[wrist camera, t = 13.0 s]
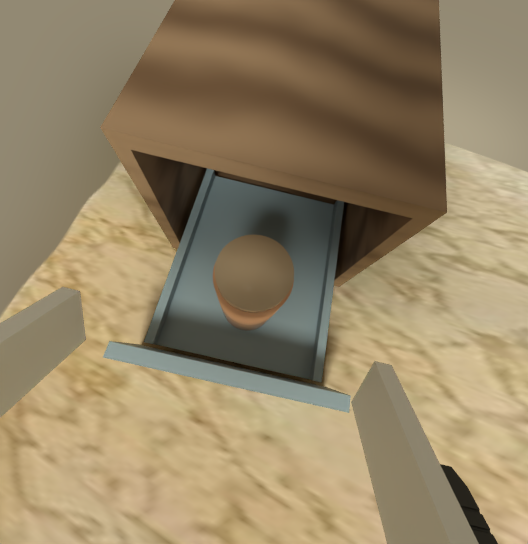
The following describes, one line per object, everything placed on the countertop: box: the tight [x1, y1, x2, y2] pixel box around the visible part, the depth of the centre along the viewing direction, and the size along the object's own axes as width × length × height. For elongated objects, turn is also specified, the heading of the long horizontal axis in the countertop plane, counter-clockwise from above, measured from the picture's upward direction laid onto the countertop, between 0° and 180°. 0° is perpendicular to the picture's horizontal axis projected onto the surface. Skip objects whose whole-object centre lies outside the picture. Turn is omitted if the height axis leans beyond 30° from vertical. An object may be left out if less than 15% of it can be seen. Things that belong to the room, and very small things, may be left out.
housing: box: [101, 0, 447, 287], centre depth 25 cm, size 22×20×16 cm
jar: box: [213, 235, 294, 331], centre depth 20 cm, size 5×5×11 cm
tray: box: [103, 168, 350, 413], centre depth 25 cm, size 22×19×6 cm
